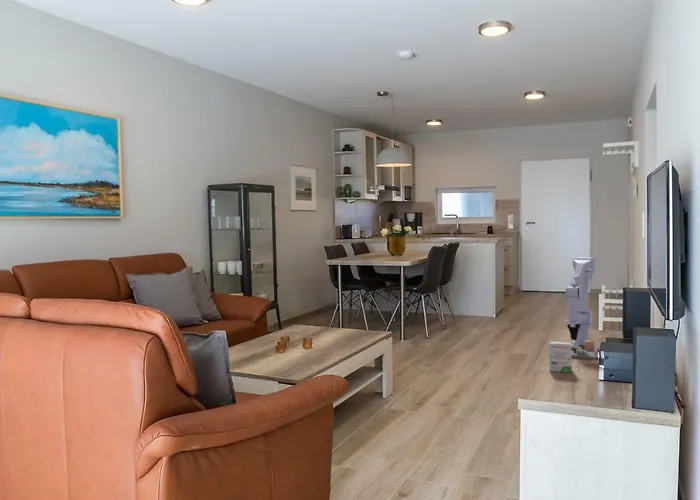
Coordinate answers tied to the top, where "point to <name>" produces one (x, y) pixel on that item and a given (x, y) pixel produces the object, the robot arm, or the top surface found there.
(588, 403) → the top surface
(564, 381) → the top surface
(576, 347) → the cover
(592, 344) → the block
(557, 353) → the ink box
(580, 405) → the top surface
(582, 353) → the deck
